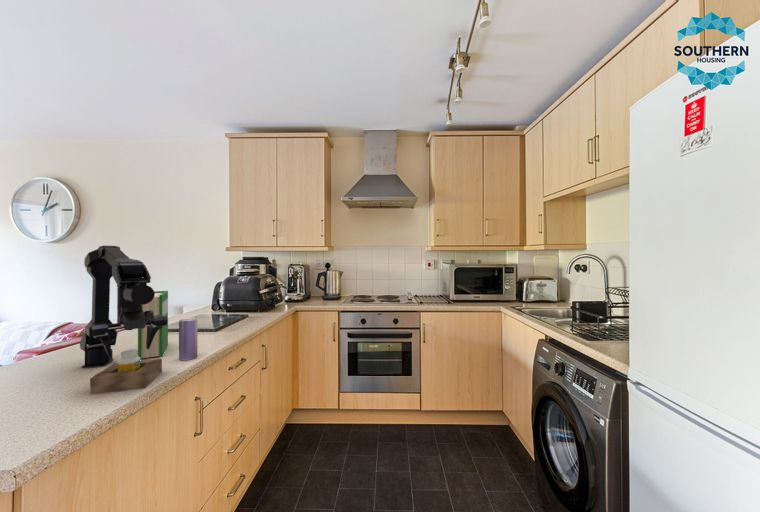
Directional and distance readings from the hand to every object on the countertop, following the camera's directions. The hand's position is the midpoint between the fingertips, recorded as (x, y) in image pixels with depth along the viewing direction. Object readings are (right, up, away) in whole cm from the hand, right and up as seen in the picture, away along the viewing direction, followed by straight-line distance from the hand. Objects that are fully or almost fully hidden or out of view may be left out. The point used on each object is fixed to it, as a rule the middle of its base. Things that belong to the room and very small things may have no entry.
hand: (129, 352), depth 92 cm
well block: (0, -9, 0) cm, 9 cm away
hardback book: (-14, -10, +29) cm, 33 cm away
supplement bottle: (0, -9, 0) cm, 9 cm away
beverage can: (+4, -9, +22) cm, 24 cm away
